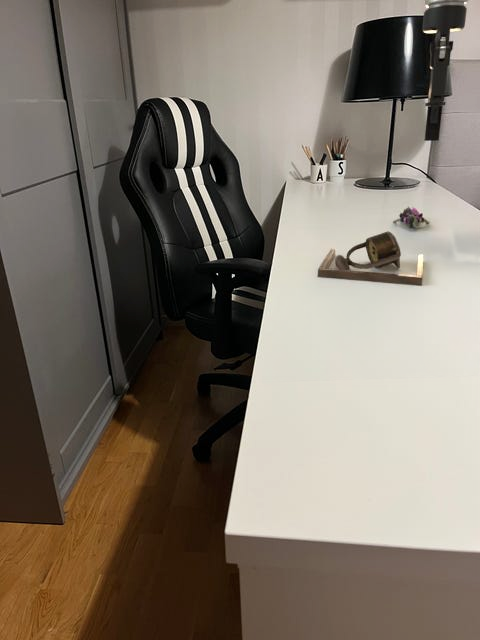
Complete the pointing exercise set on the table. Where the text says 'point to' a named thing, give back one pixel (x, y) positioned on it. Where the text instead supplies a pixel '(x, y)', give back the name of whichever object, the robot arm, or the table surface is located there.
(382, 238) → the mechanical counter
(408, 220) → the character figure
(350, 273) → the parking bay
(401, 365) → the table surface
